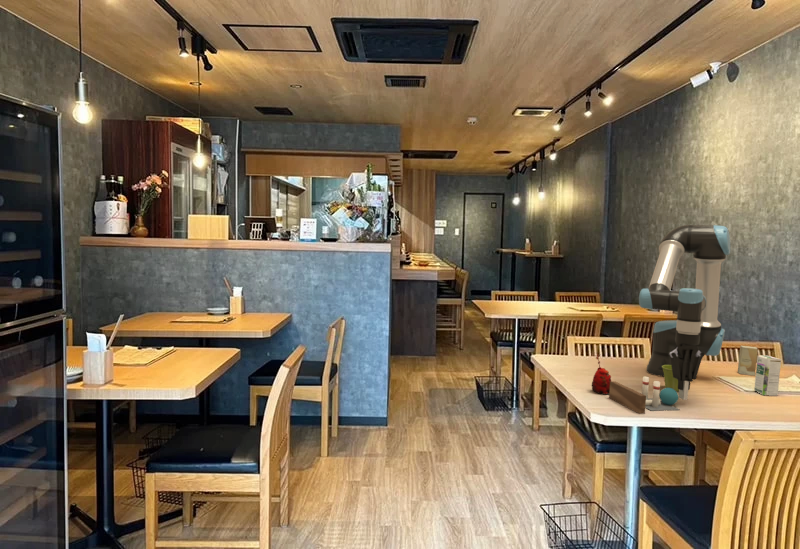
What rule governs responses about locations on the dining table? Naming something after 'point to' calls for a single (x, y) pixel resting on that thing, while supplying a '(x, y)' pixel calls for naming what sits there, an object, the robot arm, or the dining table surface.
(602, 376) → the red clay folk toy
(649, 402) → the pin front
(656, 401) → the pin back left
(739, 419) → the dining table surface
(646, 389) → the pin back right
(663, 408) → the pin deck mark
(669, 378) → the plant pot
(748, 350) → the skincare box
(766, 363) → the syrup box
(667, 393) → the ball
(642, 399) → the bar
